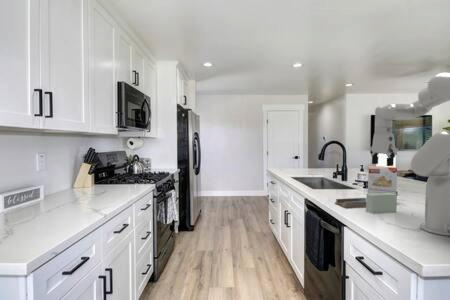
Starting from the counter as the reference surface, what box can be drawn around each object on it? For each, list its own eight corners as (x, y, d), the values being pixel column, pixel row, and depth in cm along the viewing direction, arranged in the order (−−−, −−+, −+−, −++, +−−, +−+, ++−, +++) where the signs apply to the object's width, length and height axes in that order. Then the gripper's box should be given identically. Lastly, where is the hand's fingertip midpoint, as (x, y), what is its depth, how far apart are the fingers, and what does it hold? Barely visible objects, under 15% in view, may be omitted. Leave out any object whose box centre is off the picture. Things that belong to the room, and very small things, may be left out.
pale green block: (396, 212, 129) (396, 194, 128) (371, 213, 126) (372, 195, 126) (390, 210, 133) (390, 192, 132) (366, 211, 130) (366, 193, 130)
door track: (376, 207, 138) (376, 201, 138) (346, 208, 135) (346, 202, 135) (363, 202, 148) (363, 197, 148) (334, 203, 145) (335, 198, 145)
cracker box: (367, 201, 149) (368, 166, 148) (367, 199, 155) (368, 165, 154) (396, 204, 143) (397, 167, 142) (394, 202, 148) (395, 166, 147)
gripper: (404, 130, 120) (403, 166, 121) (376, 131, 137) (375, 163, 138) (390, 130, 119) (389, 166, 119) (364, 131, 136) (363, 163, 136)
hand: (382, 164), depth 129 cm, fingers open, 9 cm apart
